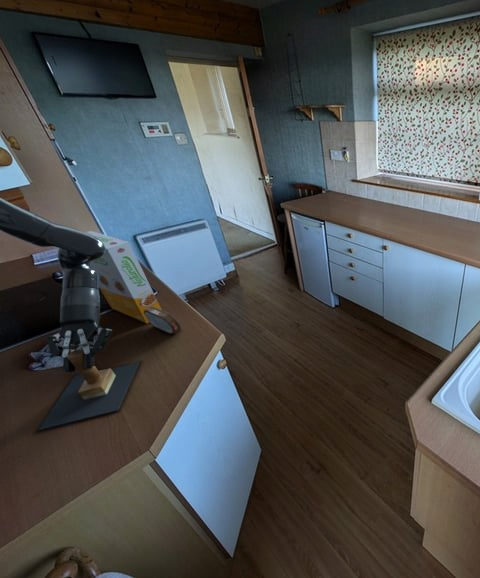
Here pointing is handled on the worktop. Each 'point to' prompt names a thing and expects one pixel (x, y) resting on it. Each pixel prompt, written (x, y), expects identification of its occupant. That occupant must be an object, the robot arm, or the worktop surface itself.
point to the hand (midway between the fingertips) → (79, 370)
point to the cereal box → (123, 278)
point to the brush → (91, 377)
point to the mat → (78, 409)
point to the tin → (162, 320)
